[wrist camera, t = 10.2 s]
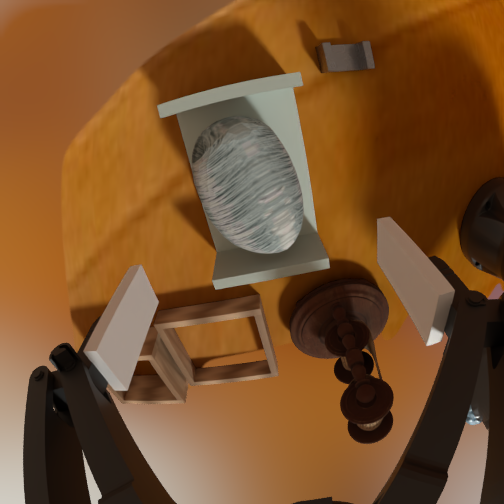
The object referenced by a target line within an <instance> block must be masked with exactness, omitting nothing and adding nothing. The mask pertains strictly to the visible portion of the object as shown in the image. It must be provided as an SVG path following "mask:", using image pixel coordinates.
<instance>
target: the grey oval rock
mask: <svg viewBox="0 0 504 504" xmlns="http://www.w3.org/2000/svg"><path fill="white" fill-rule="evenodd" d="M192 173H193V180H194V183H195V187H196V190H197V192H198V195H199V197H200V200H201V203H202V205H203V207H204V210H205V212H206V214H207V215H208V217H209V219H210V221H211V222H212V224H213V225H214V226H215V227H216V228H217V229H218V231H219V232H220V233H221V234H222V235H223V236H224V237H225V238H226V239H227V240H229V241H230V242H231V243H233V244H234V245H236V246H238V247H240V248H243V249H246V250H248V251H251V252H256V253H267V254H268V253H278V252H282V251H284V250H287V249H288V248H289V247H290V246H291V245H292V244H293V243H294V242H295V240H296V238H297V236H298V234H299V232H300V230H301V226H302V221H303V214H304V206H303V196H302V191H301V186H300V183H299V180H298V176H297V173H296V170H295V168H294V166H293V163H292V161H291V158H290V156H289V154H288V153H287V151H286V149H285V147H284V146H283V144H282V142H281V141H280V140H279V138H278V137H277V135H276V134H275V133H274V131H273V130H272V129H271V128H270V127H269V126H267V125H266V124H265V123H263V122H262V121H260V120H258V119H255V118H251V117H246V116H233V117H227V118H224V119H221V120H219V121H216V122H214V123H212V124H211V125H210V126H208V127H207V128H206V129H204V130H203V131H202V133H201V134H200V135H199V137H198V138H197V140H196V142H195V145H194V149H193V152H192Z"/></svg>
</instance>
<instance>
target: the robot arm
mask: <svg viewBox="0 0 504 504" xmlns="http://www.w3.org/2000/svg"><path fill="white" fill-rule="evenodd" d="M461 248H462V251H463V254H464V256H465V257H466V258H467V259H468V260H469V261H470V262H471V264H472V265H473V266H475V267H476V268H477V269H479V270H482V271H484V272H486V273H489V274H491V275H493V276H496V277H498V278H500V279H502V280H503V281H504V178H495V179H492V180H490V181H489V182H487V183H486V184H484V185H483V186H482V187H481V188H480V189H479V190H478V192H477V193H476V194H475V196H474V197H473V199H472V200H471V202H470V204H469V206H468V208H467V210H466V213H465V216H464V219H463V223H462V227H461ZM377 263H378V264H379V266H380V267H381V269H382V270H383V272H384V274H385V275H386V277H387V278H388V280H389V282H390V283H391V285H392V287H393V288H394V290H395V291H396V293H397V295H398V296H399V298H400V300H401V302H402V303H403V305H404V307H405V308H406V310H407V312H408V314H409V315H410V317H411V319H412V321H413V322H414V324H415V326H416V328H417V330H418V331H419V333H420V335H421V337H422V339H423V340H424V342H425V344H426V346H428V345H432V344H435V343H438V342H440V341H442V337H443V334H444V331H445V333H446V335H447V336H448V341H447V344H446V347H445V350H444V353H443V358H442V361H441V364H440V367H439V370H438V373H437V376H436V378H435V381H434V384H433V387H432V389H431V392H430V395H429V397H428V400H427V402H426V405H425V408H424V410H423V412H422V414H421V417H420V419H419V421H418V424H417V426H416V428H415V430H414V432H413V434H412V436H411V438H410V440H409V443H408V444H407V446H406V448H405V450H404V452H403V454H402V456H401V458H400V460H399V462H398V464H397V466H396V467H395V469H394V471H393V473H392V474H391V476H390V478H389V479H388V481H387V483H386V484H385V486H384V487H383V489H382V490H381V492H380V493H379V495H378V496H377V498H376V499H375V501H374V502H373V504H436V503H437V501H438V499H439V497H440V495H441V493H442V491H443V489H444V487H445V484H446V482H447V478H448V473H447V471H448V468H449V465H450V463H451V460H452V458H453V455H454V453H455V450H456V448H457V445H458V442H459V440H460V437H461V434H462V431H463V428H464V425H465V422H467V423H468V424H471V425H475V424H479V423H480V422H483V423H484V425H485V427H486V429H487V430H488V431H489V436H488V449H487V460H486V468H485V475H484V482H483V488H482V494H481V502H480V504H504V293H503V294H502V295H501V296H500V297H499V299H492V300H488V299H487V298H486V296H485V295H483V294H482V293H480V292H478V291H472V290H469V289H468V288H467V287H466V286H465V284H464V283H463V282H462V281H461V280H460V279H459V277H458V276H457V275H456V274H454V272H453V270H452V269H451V268H450V267H449V266H448V265H447V264H446V263H445V262H444V261H443V260H442V259H440V258H438V257H436V256H433V257H427V256H426V255H425V254H424V253H423V252H422V250H421V249H420V248H419V247H418V246H417V245H416V244H415V243H414V242H413V241H412V239H411V238H410V237H409V236H408V235H407V234H406V233H405V232H404V231H403V230H402V229H401V228H400V227H399V226H398V225H397V224H396V222H395V221H394V220H393V219H392V218H391V217H385V218H379V219H377ZM158 303H159V301H158V299H157V297H156V295H155V293H154V291H153V289H152V287H151V285H150V282H149V280H148V278H147V276H146V274H145V272H144V269H143V267H142V265H136V266H131V267H130V268H129V269H128V271H127V273H126V274H125V276H124V278H123V279H122V281H121V283H120V284H119V286H118V288H117V290H116V291H115V293H114V295H113V296H112V298H111V300H110V302H109V304H108V305H107V307H106V309H105V311H104V313H103V314H102V316H100V317H99V318H98V319H97V320H96V321H95V322H94V323H93V324H92V326H91V328H90V330H89V332H88V334H87V336H86V338H85V339H84V341H83V343H82V345H81V347H80V349H79V351H78V353H76V352H75V350H74V349H73V348H72V346H71V345H70V344H69V343H62V344H60V345H58V346H57V347H56V348H54V350H53V351H52V352H51V354H50V357H49V360H50V361H51V363H52V364H53V365H54V366H55V367H56V369H57V371H53V372H51V371H50V370H49V369H48V368H47V367H46V366H40V367H38V368H36V369H35V370H34V371H33V372H32V374H31V376H30V379H29V386H28V394H27V402H26V412H25V424H24V445H23V447H24V448H23V472H24V473H23V474H24V493H25V504H91V500H90V496H89V490H88V485H87V480H86V473H85V467H84V460H83V453H82V450H83V452H84V455H85V458H86V460H87V463H88V465H89V467H90V470H91V472H92V474H93V477H94V479H95V481H96V484H97V485H98V488H99V490H100V492H101V495H102V498H101V499H99V500H98V504H177V503H175V502H174V500H173V499H172V498H171V497H170V495H169V494H168V493H167V491H166V490H165V489H164V487H163V486H162V484H161V483H160V481H159V480H158V478H157V477H156V475H155V474H154V472H153V471H152V469H151V468H150V466H149V464H148V463H147V461H146V460H145V458H144V457H143V455H142V453H141V451H140V450H139V448H138V446H137V445H136V443H135V441H134V439H133V438H132V436H131V434H130V432H129V430H128V429H127V427H126V425H125V423H124V421H123V419H122V417H121V415H120V414H119V411H118V409H117V407H116V405H115V403H114V401H113V399H112V397H111V395H110V393H109V392H108V391H107V390H106V388H107V385H108V383H109V384H110V386H111V387H112V388H113V389H114V390H115V391H128V388H129V385H130V382H131V379H132V376H133V373H134V370H135V367H136V364H137V361H138V358H139V355H140V352H141V349H142V347H143V344H144V341H145V338H146V335H147V333H148V330H149V327H150V324H151V322H152V319H153V316H154V314H155V311H156V308H157V306H158ZM53 407H54V408H55V411H54V409H53ZM293 504H352V503H348V502H341V501H332V497H327V498H321V499H315V500H308V501H300V502H296V503H293Z"/></svg>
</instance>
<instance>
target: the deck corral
mask: <svg viewBox="0 0 504 504" xmlns="http://www.w3.org/2000/svg"><path fill="white" fill-rule="evenodd" d="M250 316H254V317H255V320H256V324H257V327H258V330H259V334H260V337H261V341H262V344H263V347H264V351H265V354H266V357H267V360H263V361H256V362H250V363H242V364H234V365H226V366H218V367H208V368H198V369H196V368H195V366H194V364H193V362H192V361H191V359H190V357H189V355H188V354H187V352H186V350H185V348H184V346H183V344H182V343H181V341H180V339H179V337H178V335H177V333H176V331H175V330H174V328H175V327H183V326H190V325H198V324H205V323H212V322H218V321H225V320H231V319H238V318H244V317H250ZM154 326H155V328H156V330H157V332H158V333H159V335H160V337H161V339H162V340H163V342H164V344H165V345H166V347H167V349H168V350H169V352H170V354H171V355H172V357H173V359H174V360H175V362H176V364H177V365H178V367H179V368H180V370H181V372H182V373H183V375H184V376H185V378H186V379H187V381H188V382H189V384H190V385H191V386H195V385H208V384H219V383H228V382H237V381H246V380H253V379H261V378H268V377H274V376H278V366H277V360H276V356H275V352H274V348H273V344H272V340H271V337H270V333H269V329H268V325H267V321H266V318H265V314H264V310H263V306H262V302H261V298H260V294H258V295H253V296H247V297H241V298H236V299H230V300H224V301H218V302H212V303H206V304H199V305H193V306H187V307H180V308H174V309H167V310H160V311H158V313H157V316H156V319H155V322H154Z"/></svg>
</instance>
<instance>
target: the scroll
mask: <svg viewBox="0 0 504 504" xmlns="http://www.w3.org/2000/svg"><path fill="white" fill-rule="evenodd" d="M388 315H389V307H388V303H387V300H386V298H385V296H384V294H383V293H382V291H381V290H380V289H379V288H378V287H377V286H375V285H374V284H372V283H370V282H368V281H367V280H365V279H361V280H359V279H343V280H338V281H334V282H330V283H327V284H325V285H323V286H321V287H319V288H317V289H315V290H313V291H312V292H311V293H309V294H308V295H307V296H305V297H304V298H303V299H302V300H301V301H298V302H297V304H296V308H295V310H294V311H293V313H292V316H291V319H290V333H291V338H292V341H293V343H294V344H295V346H296V347H297V348H298V349H299V350H300V351H302V352H303V353H305V354H307V355H309V356H312V357H317V358H327V359H329V358H339V357H340V358H339V359H338V360H337V362H336V363H335V366H334V373H335V376H336V378H337V379H338V380H339V381H341V382H343V383H345V384H349V386H348V388H347V389H346V390H345V391H344V393H343V395H342V397H341V402H340V406H341V411H342V413H343V415H344V416H345V418H346V419H348V420H349V421H348V431H349V434H350V436H351V437H352V438H353V439H354V440H355V441H357V442H360V443H363V444H371V443H375V442H378V441H380V440H382V439H383V438H384V437H386V436H387V434H388V433H389V432H390V430H391V428H392V425H393V416H392V414H391V412H390V409H391V407H392V404H393V391H392V389H391V387H390V386H389V385H388V384H387V383H386V382H385V381H383V380H382V377H381V373H380V370H379V366H378V363H377V358H376V352H375V347H374V342H373V340H374V339H376V338H377V336H378V335H379V334H380V333H381V331H382V330H383V328H384V327H385V325H386V322H387V319H388ZM364 348H365V349H367V350H369V352H370V353H371V354H372V356H373V358H374V360H375V363H376V367H377V370H378V374H379V378H380V379H378V378H375V377H373V376H371V375H370V374H371V373H372V371H373V367H374V362H373V359H372V357H371V356H370V355H369V354H368V353H366V352H364V351H362V349H364Z"/></svg>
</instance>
